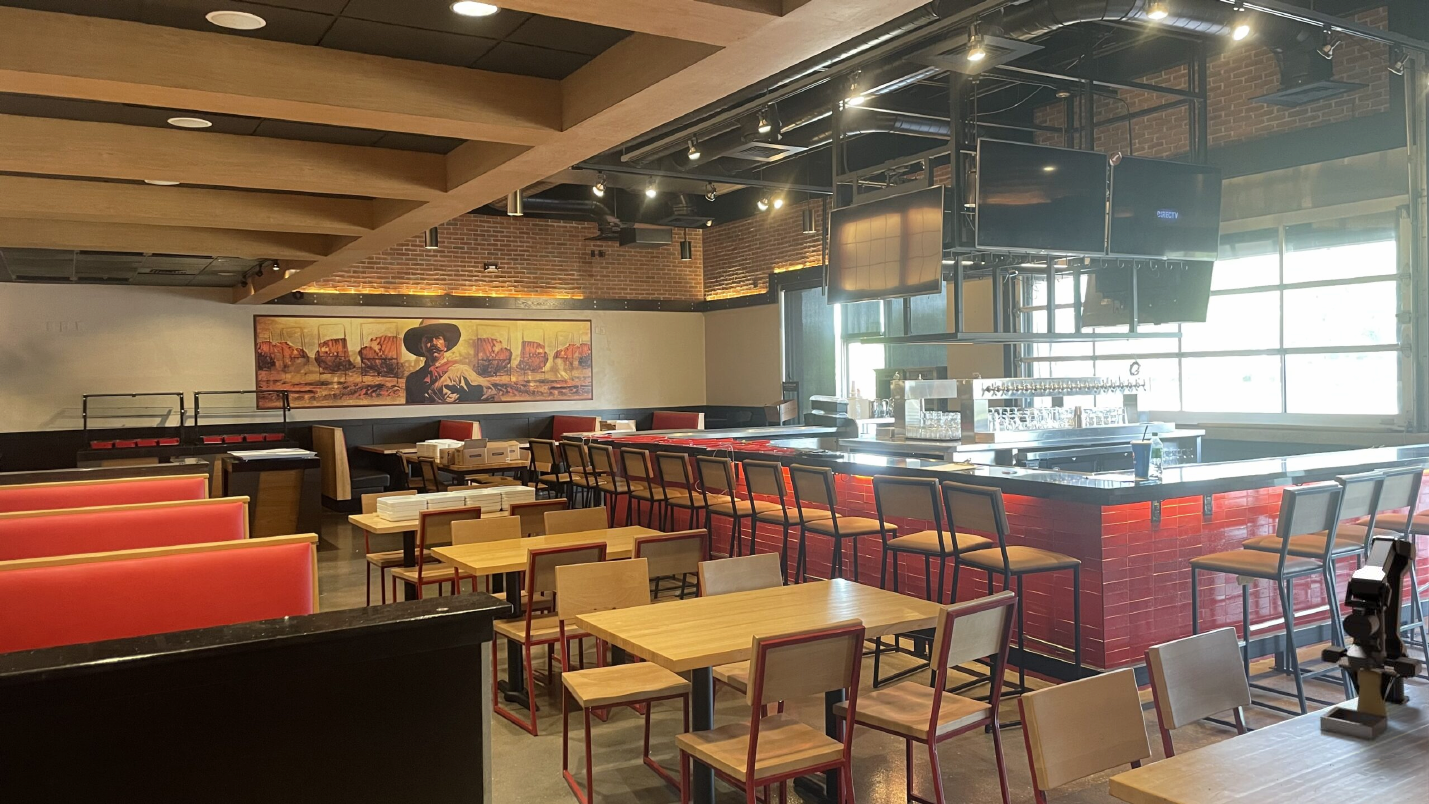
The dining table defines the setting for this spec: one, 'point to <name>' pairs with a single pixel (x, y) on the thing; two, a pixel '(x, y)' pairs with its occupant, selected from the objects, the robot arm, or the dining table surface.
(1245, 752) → the dining table surface
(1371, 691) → the cork
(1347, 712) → the socket frame
